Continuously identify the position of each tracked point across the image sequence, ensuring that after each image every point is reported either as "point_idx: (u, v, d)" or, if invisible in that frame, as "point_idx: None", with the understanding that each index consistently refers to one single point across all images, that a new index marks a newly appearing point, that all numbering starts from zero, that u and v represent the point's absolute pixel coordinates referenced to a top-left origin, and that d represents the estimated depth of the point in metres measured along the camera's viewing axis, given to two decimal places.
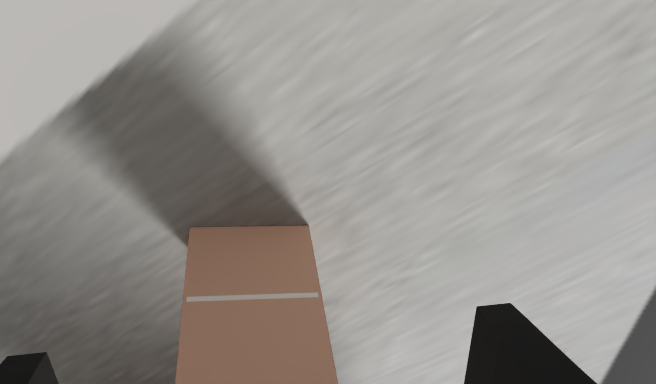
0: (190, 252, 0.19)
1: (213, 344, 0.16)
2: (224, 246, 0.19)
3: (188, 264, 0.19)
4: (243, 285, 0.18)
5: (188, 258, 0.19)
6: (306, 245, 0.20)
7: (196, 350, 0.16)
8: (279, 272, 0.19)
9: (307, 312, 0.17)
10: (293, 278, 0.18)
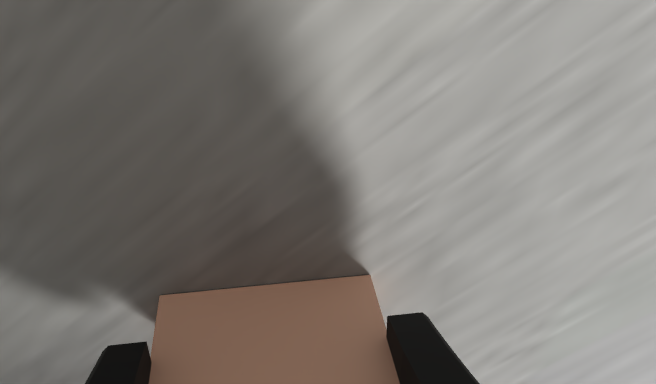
0: (157, 348, 0.10)
1: None
2: (221, 330, 0.10)
3: (151, 376, 0.10)
4: None
5: (152, 362, 0.10)
6: (370, 316, 0.11)
7: None
8: (327, 381, 0.10)
9: None
10: None
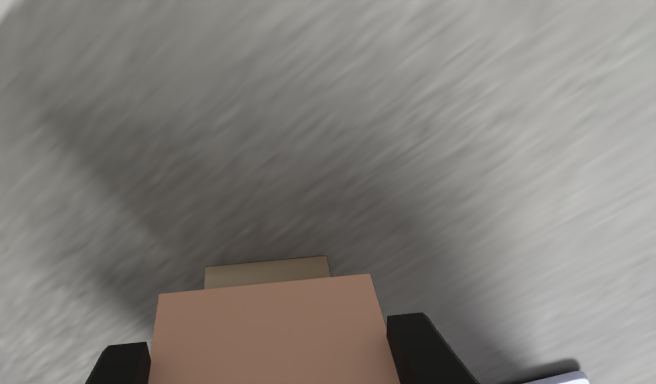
0: (156, 347, 0.10)
1: None
2: (220, 329, 0.10)
3: (151, 375, 0.10)
4: None
5: (152, 361, 0.10)
6: (370, 315, 0.11)
7: None
8: (326, 380, 0.10)
9: None
10: None
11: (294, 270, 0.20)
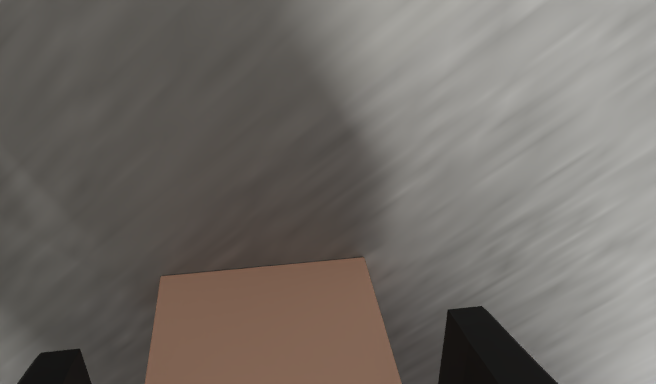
0: (158, 325, 0.11)
1: None
2: (219, 308, 0.11)
3: (153, 351, 0.10)
4: None
5: (154, 338, 0.10)
6: (364, 296, 0.11)
7: None
8: (321, 355, 0.10)
9: None
10: (349, 368, 0.10)
11: None
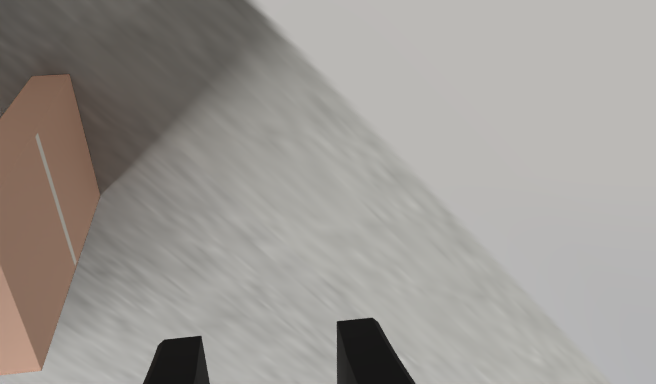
0: (58, 96, 0.16)
1: (24, 206, 0.13)
2: (70, 128, 0.16)
3: (52, 105, 0.15)
4: (59, 182, 0.15)
5: (55, 100, 0.15)
6: (91, 210, 0.18)
7: (15, 194, 0.12)
8: (74, 208, 0.16)
9: (65, 270, 0.15)
10: (75, 226, 0.16)
11: None
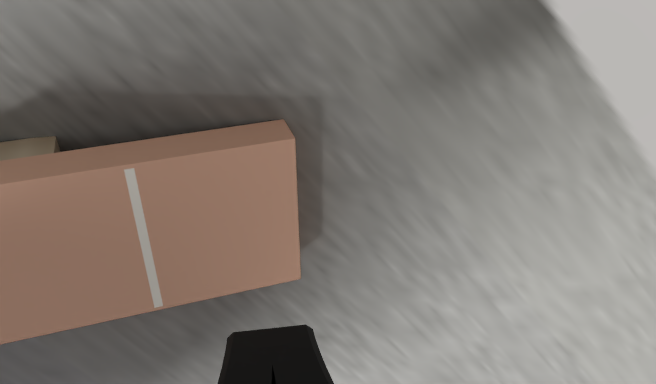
0: (234, 151, 0.13)
1: (46, 216, 0.12)
2: (250, 191, 0.13)
3: (205, 155, 0.13)
4: (166, 227, 0.13)
5: (219, 152, 0.13)
6: (256, 281, 0.15)
7: (31, 201, 0.12)
8: (198, 262, 0.14)
9: (124, 301, 0.14)
10: (186, 278, 0.14)
11: None
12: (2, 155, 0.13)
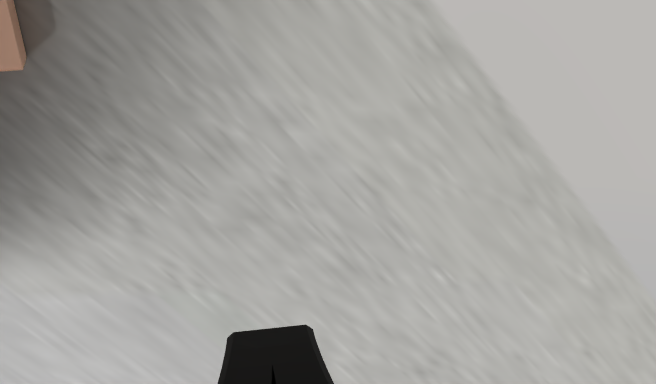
0: None
1: None
2: None
3: None
4: None
5: None
6: None
7: None
8: None
9: None
10: None
11: None
12: None
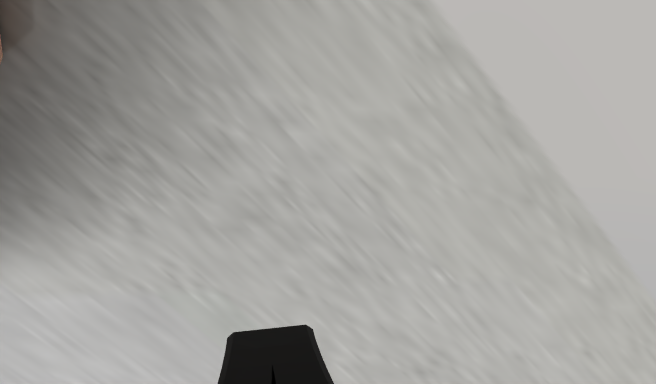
0: None
1: None
2: None
3: None
4: None
5: None
6: None
7: None
8: None
9: None
10: None
11: None
12: None
